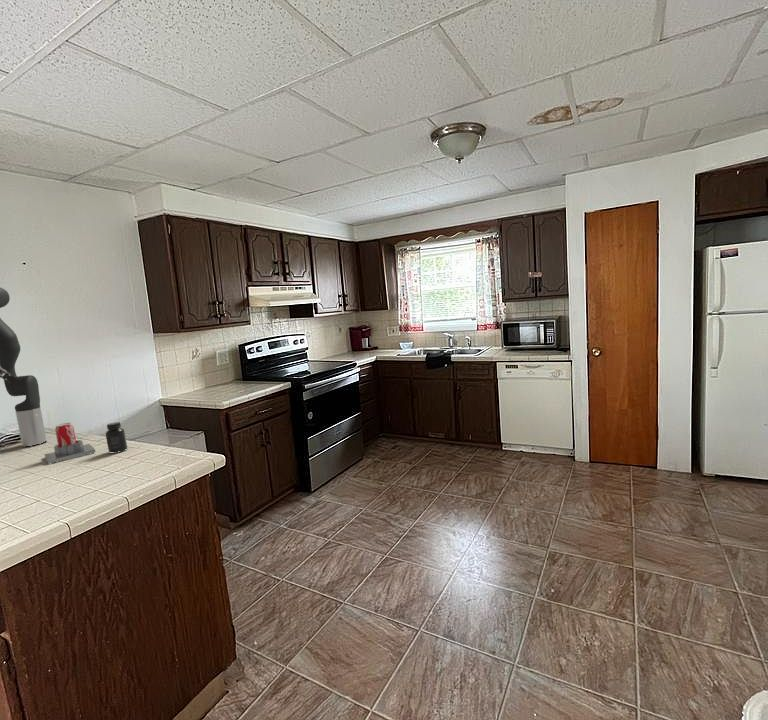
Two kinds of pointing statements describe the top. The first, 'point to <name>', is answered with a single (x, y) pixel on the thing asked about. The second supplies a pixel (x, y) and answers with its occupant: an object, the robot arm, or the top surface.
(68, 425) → the beverage can
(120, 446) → the supplement bottle
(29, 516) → the top surface
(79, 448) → the duct collar
